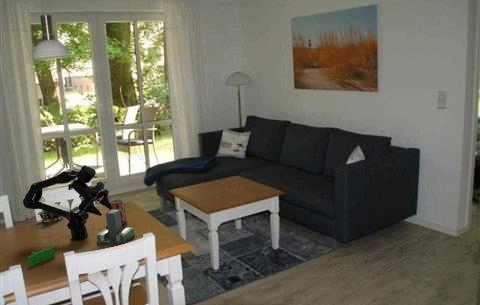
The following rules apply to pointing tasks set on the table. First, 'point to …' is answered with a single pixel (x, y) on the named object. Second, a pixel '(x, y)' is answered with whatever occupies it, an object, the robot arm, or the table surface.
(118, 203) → the beverage can
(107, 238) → the striped teal board
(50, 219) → the frog figurine
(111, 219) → the steel bar
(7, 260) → the table surface
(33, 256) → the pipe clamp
